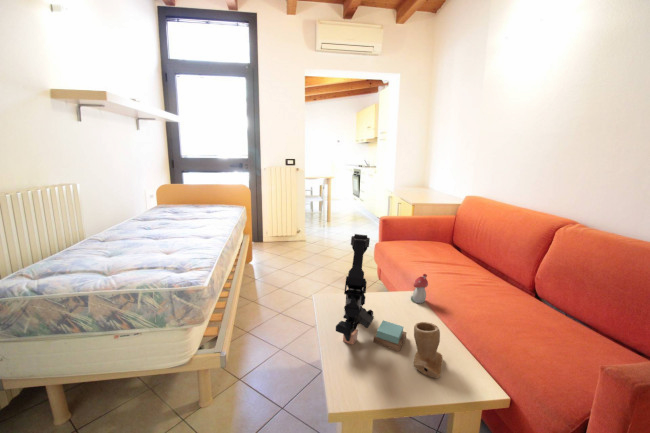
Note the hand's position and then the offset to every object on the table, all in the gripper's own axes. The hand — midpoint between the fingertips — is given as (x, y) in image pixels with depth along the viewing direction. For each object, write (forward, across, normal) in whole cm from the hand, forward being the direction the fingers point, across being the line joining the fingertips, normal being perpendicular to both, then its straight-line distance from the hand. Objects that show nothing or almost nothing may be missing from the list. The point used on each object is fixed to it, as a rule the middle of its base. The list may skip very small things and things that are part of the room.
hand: (350, 337), depth 127 cm
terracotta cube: (+1, 0, 0) cm, 1 cm away
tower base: (+2, +10, -14) cm, 17 cm away
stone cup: (+1, +3, -30) cm, 30 cm away
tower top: (-1, +10, -14) cm, 17 cm away
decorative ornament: (+1, +53, -17) cm, 56 cm away
